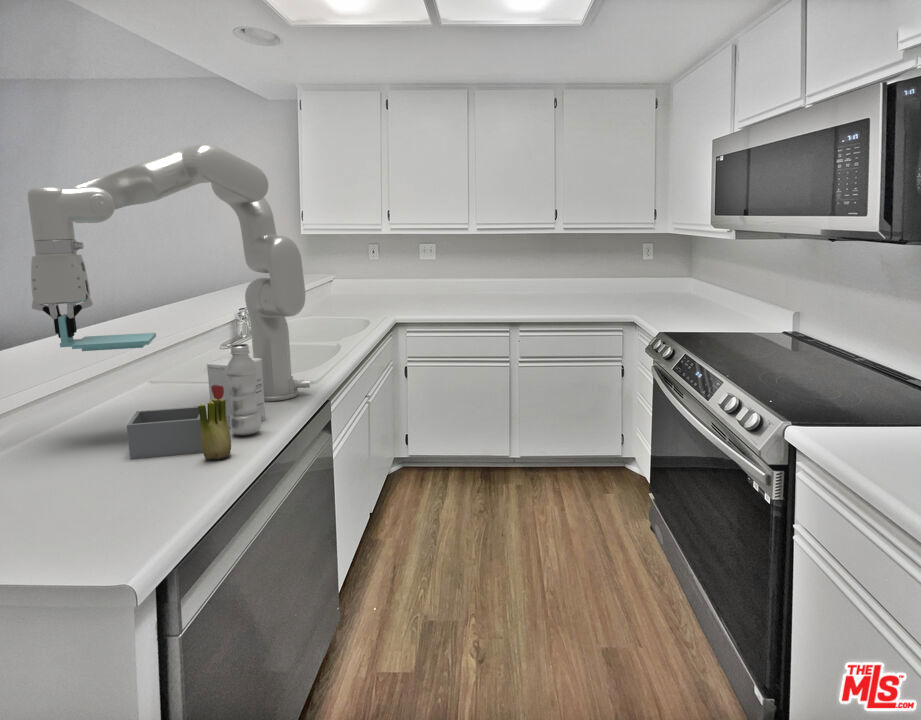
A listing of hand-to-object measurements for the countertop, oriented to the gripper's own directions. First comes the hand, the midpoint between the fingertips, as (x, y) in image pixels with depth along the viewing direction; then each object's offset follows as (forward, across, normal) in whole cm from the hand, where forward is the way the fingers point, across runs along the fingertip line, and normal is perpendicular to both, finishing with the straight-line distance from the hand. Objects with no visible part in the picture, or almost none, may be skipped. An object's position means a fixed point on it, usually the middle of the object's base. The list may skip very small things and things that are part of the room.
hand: (66, 336), depth 153 cm
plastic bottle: (+23, -35, +6) cm, 42 cm away
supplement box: (+23, -33, -4) cm, 41 cm away
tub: (+23, -20, +11) cm, 32 cm away
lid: (+3, -8, 0) cm, 8 cm away
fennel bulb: (+23, -30, +21) cm, 43 cm away
